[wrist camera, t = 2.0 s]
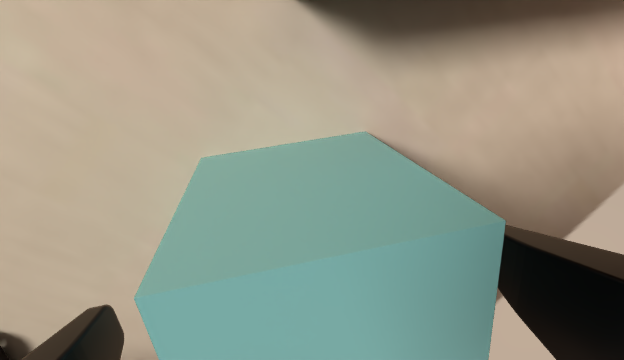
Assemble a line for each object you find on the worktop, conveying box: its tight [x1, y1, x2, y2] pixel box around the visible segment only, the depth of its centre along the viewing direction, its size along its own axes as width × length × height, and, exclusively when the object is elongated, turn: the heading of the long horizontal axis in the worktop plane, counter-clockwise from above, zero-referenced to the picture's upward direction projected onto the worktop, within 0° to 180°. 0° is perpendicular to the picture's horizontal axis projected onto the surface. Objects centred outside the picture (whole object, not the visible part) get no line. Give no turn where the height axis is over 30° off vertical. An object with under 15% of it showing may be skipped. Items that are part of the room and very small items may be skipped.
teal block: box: [134, 132, 506, 360], centre depth 8 cm, size 5×5×6 cm
